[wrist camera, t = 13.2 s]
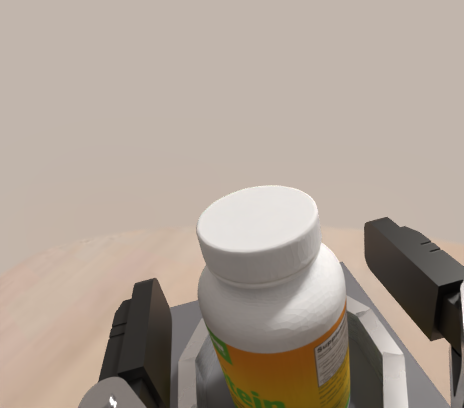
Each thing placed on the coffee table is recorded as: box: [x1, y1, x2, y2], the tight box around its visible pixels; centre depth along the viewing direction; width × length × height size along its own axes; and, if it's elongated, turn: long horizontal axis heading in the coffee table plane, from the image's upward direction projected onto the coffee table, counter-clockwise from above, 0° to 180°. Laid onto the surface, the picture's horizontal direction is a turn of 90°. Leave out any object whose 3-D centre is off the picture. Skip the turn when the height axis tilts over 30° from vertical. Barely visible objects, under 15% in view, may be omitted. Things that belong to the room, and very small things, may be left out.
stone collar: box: [178, 295, 408, 408], centre depth 14 cm, size 10×10×2 cm
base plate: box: [170, 262, 451, 408], centre depth 15 cm, size 12×14×1 cm
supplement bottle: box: [196, 185, 350, 408], centre depth 12 cm, size 5×5×10 cm
